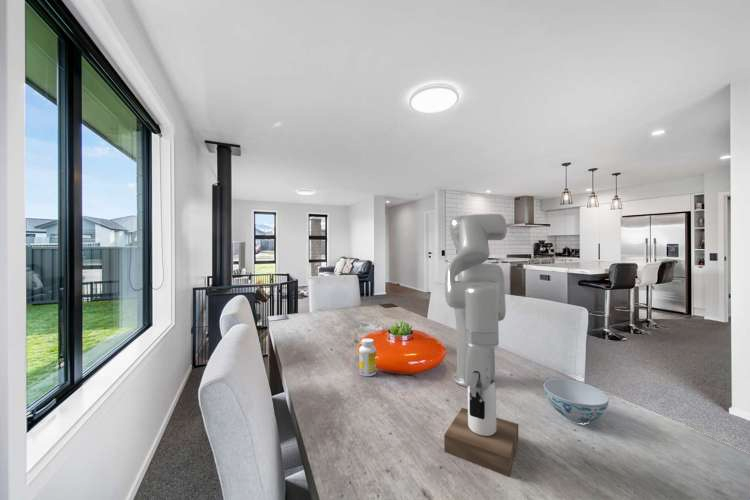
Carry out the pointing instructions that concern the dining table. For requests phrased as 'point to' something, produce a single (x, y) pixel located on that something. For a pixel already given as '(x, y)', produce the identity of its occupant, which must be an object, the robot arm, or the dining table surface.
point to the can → (489, 422)
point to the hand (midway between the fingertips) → (482, 407)
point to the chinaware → (576, 400)
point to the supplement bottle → (367, 358)
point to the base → (483, 444)
